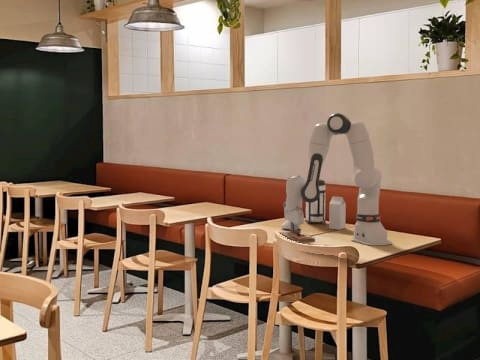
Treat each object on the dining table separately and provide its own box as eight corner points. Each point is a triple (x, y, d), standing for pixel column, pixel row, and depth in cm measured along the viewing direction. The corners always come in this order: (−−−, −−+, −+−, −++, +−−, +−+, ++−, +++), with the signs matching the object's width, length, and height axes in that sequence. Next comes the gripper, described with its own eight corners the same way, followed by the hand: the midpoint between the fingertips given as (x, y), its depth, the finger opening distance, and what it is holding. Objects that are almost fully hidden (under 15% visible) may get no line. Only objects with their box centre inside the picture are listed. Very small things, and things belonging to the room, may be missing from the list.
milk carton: (339, 230, 349) (340, 197, 347) (329, 228, 353) (329, 196, 351) (345, 228, 354) (345, 196, 352) (334, 227, 359) (335, 195, 357)
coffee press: (297, 223, 373) (297, 175, 370) (314, 220, 384) (314, 173, 381) (318, 226, 361) (319, 177, 358) (335, 223, 371) (335, 175, 368)
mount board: (314, 241, 317) (314, 233, 316) (293, 242, 313) (294, 234, 313) (298, 233, 338) (298, 226, 337) (279, 235, 334) (279, 227, 334)
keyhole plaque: (310, 238, 316) (310, 229, 315) (298, 239, 314) (298, 230, 313) (298, 232, 332) (298, 224, 331) (286, 233, 330) (286, 224, 329)
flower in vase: (295, 231, 345) (296, 188, 343) (278, 229, 351) (278, 187, 348) (304, 227, 356) (304, 186, 354) (287, 226, 362) (287, 185, 360)
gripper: (306, 207, 318) (306, 233, 320) (292, 202, 338) (292, 226, 339) (296, 208, 317) (296, 233, 318) (282, 203, 336) (282, 227, 337)
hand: (294, 230), depth 329 cm, fingers closed on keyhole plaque, 3 cm apart
